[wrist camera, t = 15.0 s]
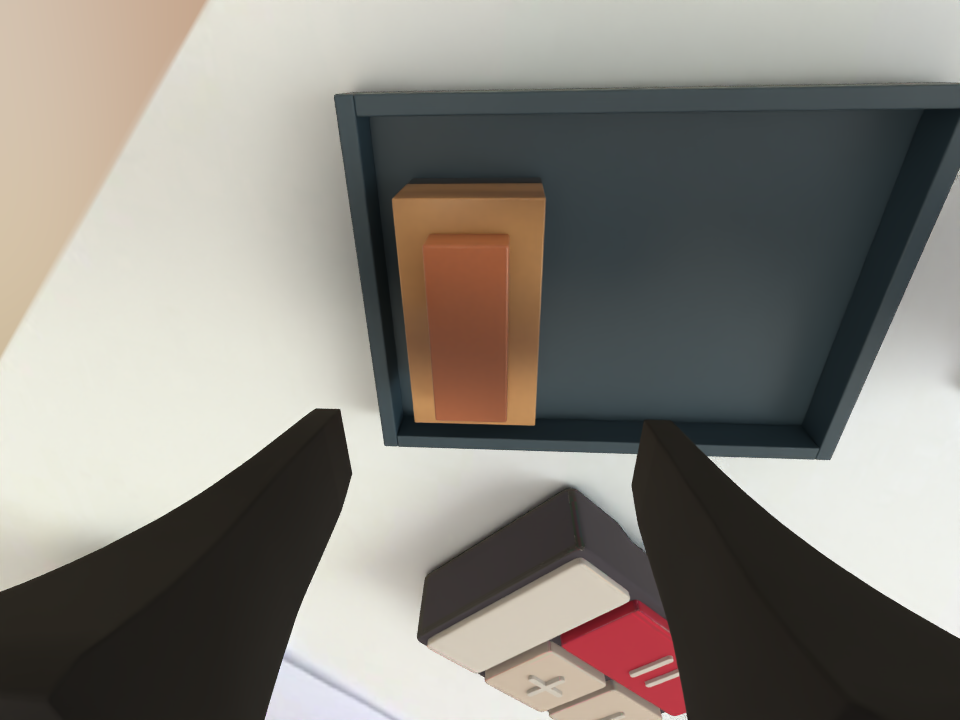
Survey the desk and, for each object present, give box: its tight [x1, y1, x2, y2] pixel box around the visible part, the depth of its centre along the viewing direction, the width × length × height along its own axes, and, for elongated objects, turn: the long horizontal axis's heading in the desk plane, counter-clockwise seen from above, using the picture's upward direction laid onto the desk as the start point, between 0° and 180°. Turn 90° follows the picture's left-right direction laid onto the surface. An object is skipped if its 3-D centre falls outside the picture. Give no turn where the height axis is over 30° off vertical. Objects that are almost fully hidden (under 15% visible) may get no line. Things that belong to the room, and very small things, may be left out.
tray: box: [334, 82, 960, 460], centre depth 18 cm, size 18×13×2 cm
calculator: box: [417, 488, 686, 720], centre depth 27 cm, size 11×4×15 cm
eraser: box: [392, 178, 546, 426], centre depth 17 cm, size 8×4×4 cm, turn 1°
